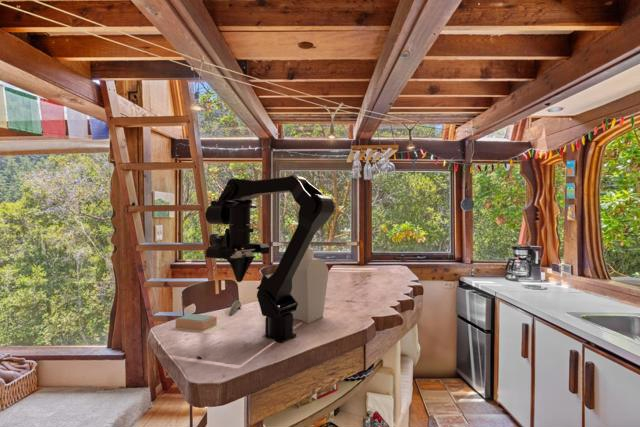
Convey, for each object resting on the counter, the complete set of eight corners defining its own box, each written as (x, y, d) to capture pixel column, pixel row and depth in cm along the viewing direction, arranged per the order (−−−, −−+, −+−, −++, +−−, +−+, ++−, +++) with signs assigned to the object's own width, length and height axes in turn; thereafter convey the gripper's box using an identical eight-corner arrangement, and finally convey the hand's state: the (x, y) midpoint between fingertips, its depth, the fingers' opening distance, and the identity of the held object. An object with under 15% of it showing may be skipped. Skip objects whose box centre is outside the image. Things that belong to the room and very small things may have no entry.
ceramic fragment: (232, 319, 113) (232, 306, 113) (215, 319, 113) (215, 306, 114) (242, 309, 127) (243, 297, 127) (227, 309, 127) (228, 297, 128)
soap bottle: (301, 311, 122) (302, 232, 122) (328, 315, 117) (328, 233, 117) (278, 320, 111) (279, 233, 112) (307, 325, 106) (307, 234, 107)
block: (216, 316, 104) (189, 313, 107) (203, 321, 99) (175, 318, 102) (216, 324, 104) (189, 321, 107) (203, 330, 99) (175, 327, 102)
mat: (229, 326, 105) (229, 324, 105) (210, 335, 96) (210, 333, 96) (193, 322, 109) (194, 320, 109) (172, 331, 100) (172, 328, 100)
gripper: (243, 224, 114) (242, 275, 114) (192, 224, 99) (191, 283, 98) (270, 224, 108) (270, 278, 108) (221, 225, 92) (220, 288, 92)
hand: (239, 282), depth 102 cm, fingers closed
